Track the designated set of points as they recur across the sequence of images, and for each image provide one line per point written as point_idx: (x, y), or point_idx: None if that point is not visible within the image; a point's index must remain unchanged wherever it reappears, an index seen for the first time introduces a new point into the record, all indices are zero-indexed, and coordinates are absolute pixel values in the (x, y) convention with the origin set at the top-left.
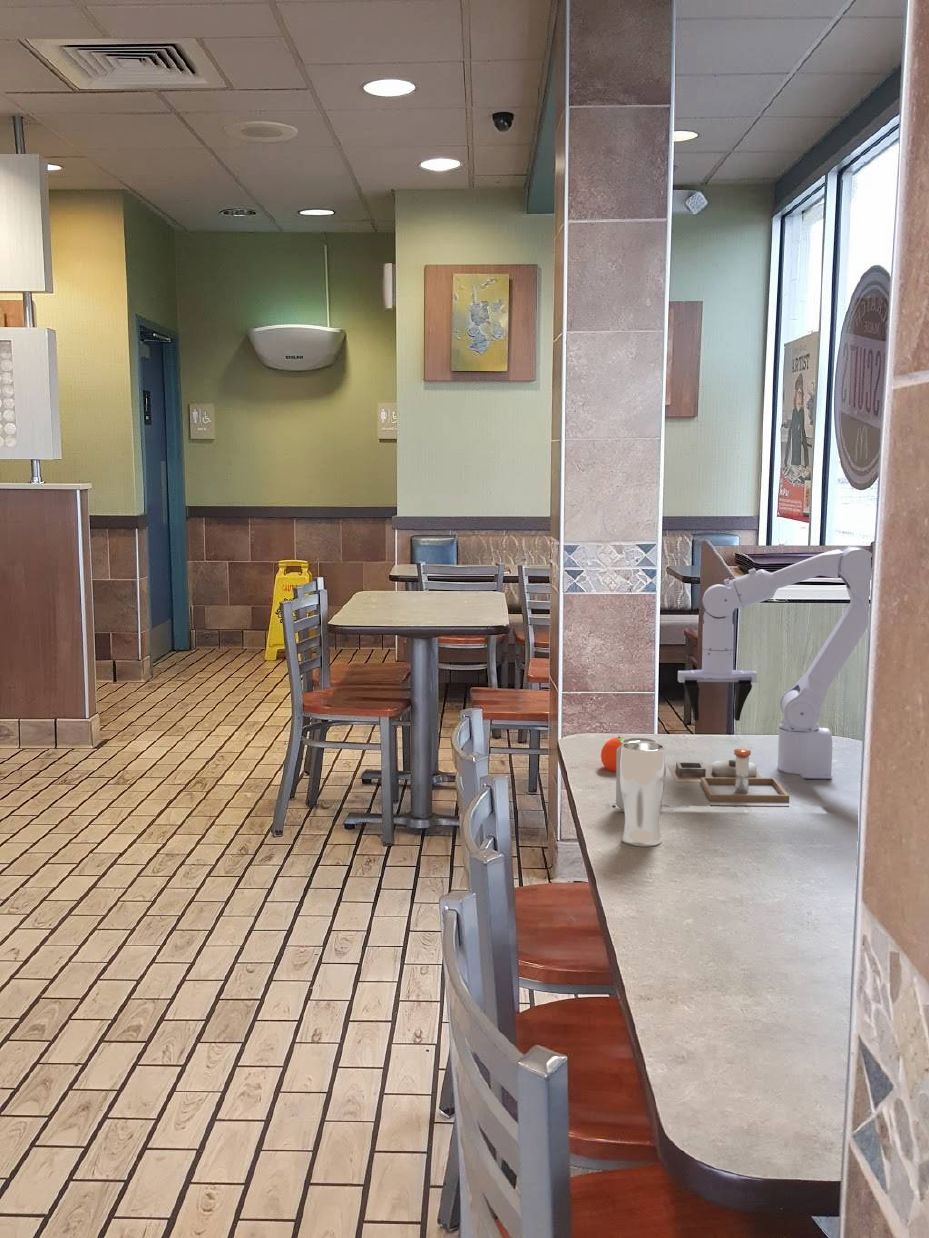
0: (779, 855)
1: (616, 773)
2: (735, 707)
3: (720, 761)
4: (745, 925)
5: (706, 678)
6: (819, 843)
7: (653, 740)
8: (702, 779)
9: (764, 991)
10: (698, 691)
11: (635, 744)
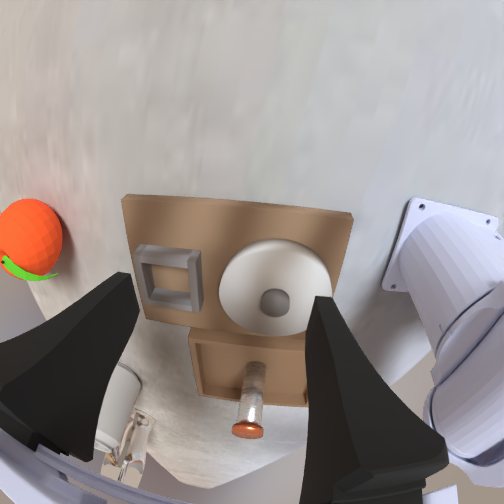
0: (245, 446)
1: None
2: (319, 355)
3: (247, 265)
4: (205, 466)
5: (101, 500)
6: (288, 440)
7: (102, 445)
8: (190, 347)
9: (206, 477)
10: (92, 439)
11: (107, 476)
